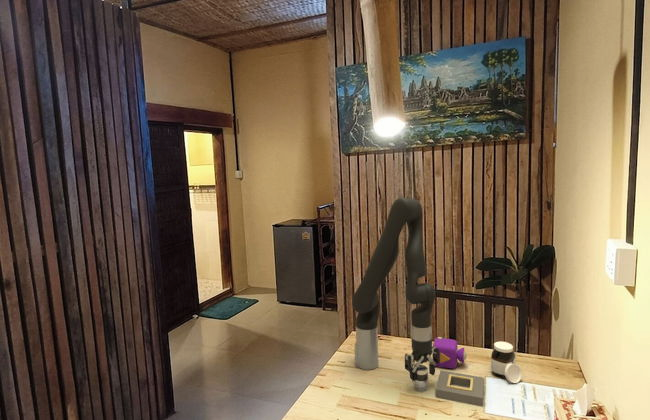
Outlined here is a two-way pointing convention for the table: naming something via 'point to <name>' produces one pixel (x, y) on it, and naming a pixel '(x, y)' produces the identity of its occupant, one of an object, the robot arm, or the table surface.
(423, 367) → the lens
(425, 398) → the table surface
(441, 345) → the toy camera
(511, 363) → the spread jar
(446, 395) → the mount plate
